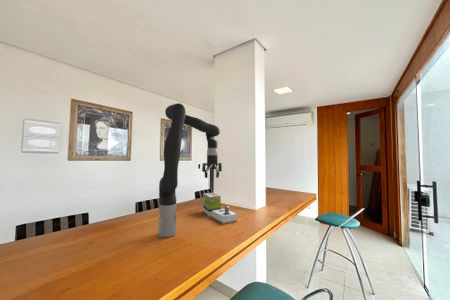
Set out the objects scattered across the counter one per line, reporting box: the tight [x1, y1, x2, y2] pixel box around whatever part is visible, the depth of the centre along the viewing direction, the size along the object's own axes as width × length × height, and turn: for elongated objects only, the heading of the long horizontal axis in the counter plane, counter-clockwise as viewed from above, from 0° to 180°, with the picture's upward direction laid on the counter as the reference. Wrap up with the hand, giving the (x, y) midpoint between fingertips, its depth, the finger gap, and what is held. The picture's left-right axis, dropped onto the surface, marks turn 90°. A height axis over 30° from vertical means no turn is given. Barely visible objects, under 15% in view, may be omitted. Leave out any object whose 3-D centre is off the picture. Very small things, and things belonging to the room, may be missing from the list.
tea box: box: [202, 192, 222, 217], centre depth 147 cm, size 15×10×15 cm
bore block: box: [211, 208, 238, 225], centre depth 132 cm, size 11×16×5 cm
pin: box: [224, 205, 230, 215], centre depth 129 cm, size 3×3×9 cm
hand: (211, 177), depth 130 cm, fingers open, 8 cm apart
